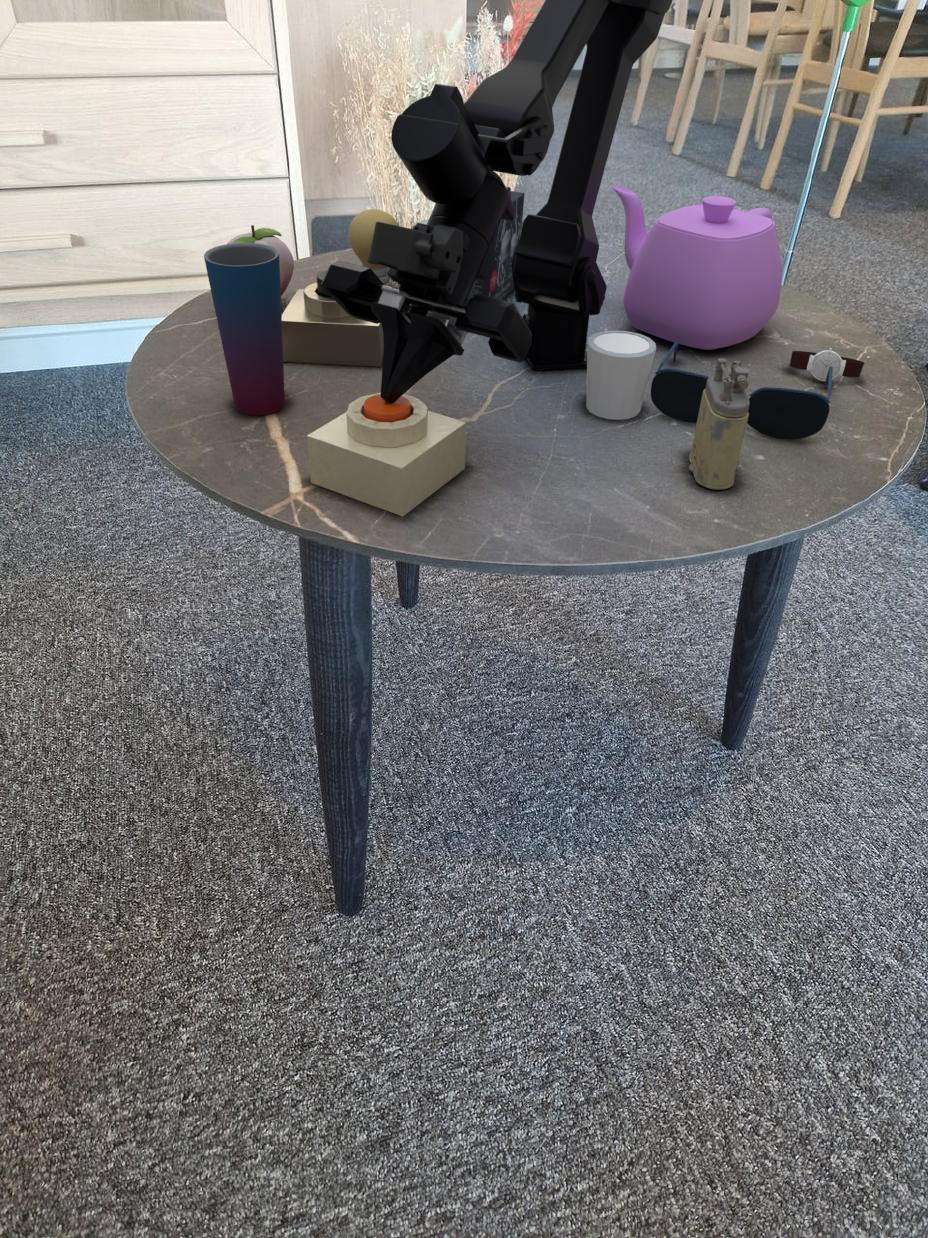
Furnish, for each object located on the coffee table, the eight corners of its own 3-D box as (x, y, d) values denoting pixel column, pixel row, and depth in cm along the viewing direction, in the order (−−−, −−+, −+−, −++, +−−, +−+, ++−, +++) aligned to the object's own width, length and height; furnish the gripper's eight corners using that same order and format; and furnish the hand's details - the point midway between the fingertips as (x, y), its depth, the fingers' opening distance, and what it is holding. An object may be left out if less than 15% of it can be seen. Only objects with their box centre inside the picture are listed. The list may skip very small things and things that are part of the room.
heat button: (356, 288, 105) (356, 270, 103) (350, 301, 102) (349, 282, 100) (321, 286, 105) (320, 268, 104) (314, 299, 102) (313, 280, 100)
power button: (382, 410, 83) (381, 389, 82) (419, 422, 82) (419, 400, 80) (355, 427, 81) (354, 405, 79) (393, 440, 79) (392, 418, 78)
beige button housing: (377, 439, 90) (374, 375, 86) (465, 468, 86) (466, 403, 82) (310, 482, 83) (304, 416, 79) (402, 517, 79) (401, 448, 75)
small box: (487, 319, 115) (491, 217, 107) (435, 310, 117) (436, 210, 109) (519, 285, 125) (525, 190, 117) (471, 278, 126) (474, 183, 119)
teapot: (805, 321, 117) (839, 193, 107) (717, 369, 104) (746, 230, 95) (654, 276, 129) (672, 158, 119) (559, 315, 116) (570, 186, 107)
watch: (785, 377, 103) (793, 346, 101) (789, 361, 107) (797, 330, 105) (858, 389, 101) (868, 357, 99) (859, 372, 105) (869, 341, 103)
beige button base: (392, 332, 111) (391, 277, 107) (380, 367, 103) (378, 309, 99) (301, 327, 111) (296, 272, 107) (282, 361, 103) (276, 303, 99)
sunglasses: (645, 414, 95) (654, 366, 93) (668, 377, 107) (676, 333, 105) (819, 446, 91) (833, 396, 88) (823, 403, 103) (836, 358, 100)
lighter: (736, 492, 84) (761, 388, 77) (693, 490, 84) (715, 386, 77) (722, 453, 89) (744, 353, 83) (683, 451, 89) (702, 351, 83)
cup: (279, 423, 92) (263, 268, 82) (215, 415, 93) (191, 261, 83) (302, 394, 97) (289, 245, 88) (241, 387, 98) (221, 239, 89)
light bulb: (342, 294, 120) (338, 212, 114) (365, 279, 125) (362, 200, 119) (387, 302, 118) (385, 219, 112) (408, 286, 123) (407, 206, 117)
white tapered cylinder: (604, 427, 93) (613, 360, 88) (567, 400, 98) (573, 335, 93) (659, 414, 95) (671, 349, 91) (621, 388, 100) (630, 324, 96)
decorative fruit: (249, 292, 120) (239, 210, 114) (306, 301, 118) (299, 218, 112) (210, 316, 113) (197, 231, 107) (270, 326, 111) (261, 240, 105)
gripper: (327, 160, 77) (251, 331, 76) (524, 197, 69) (442, 388, 69) (385, 236, 87) (318, 388, 86) (563, 276, 79) (491, 443, 79)
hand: (386, 400), depth 80 cm, fingers closed, pressing on power button
